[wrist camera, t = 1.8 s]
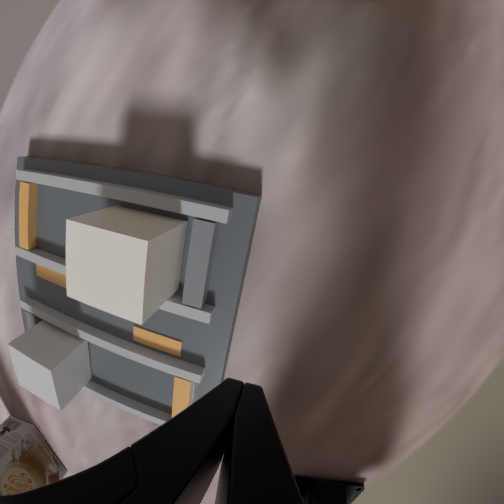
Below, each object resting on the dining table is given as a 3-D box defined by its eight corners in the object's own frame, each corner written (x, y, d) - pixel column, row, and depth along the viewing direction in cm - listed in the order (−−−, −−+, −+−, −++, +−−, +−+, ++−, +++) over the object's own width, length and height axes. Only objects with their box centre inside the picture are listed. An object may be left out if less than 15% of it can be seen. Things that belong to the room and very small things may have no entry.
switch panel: (213, 426, 20) (206, 446, 18) (38, 351, 21) (24, 362, 19) (261, 195, 15) (255, 199, 13) (30, 156, 17) (9, 157, 15)
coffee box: (70, 472, 28) (14, 549, 13) (41, 459, 29) (-14, 526, 14) (35, 424, 26) (-39, 504, 10) (8, 412, 27) (-60, 479, 12)
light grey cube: (91, 377, 19) (60, 410, 15) (51, 357, 19) (19, 384, 15) (87, 338, 18) (50, 370, 14) (45, 318, 18) (8, 343, 14)
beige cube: (178, 288, 16) (142, 325, 12) (112, 268, 16) (66, 296, 12) (187, 221, 15) (148, 240, 11) (116, 205, 15) (66, 219, 11)
